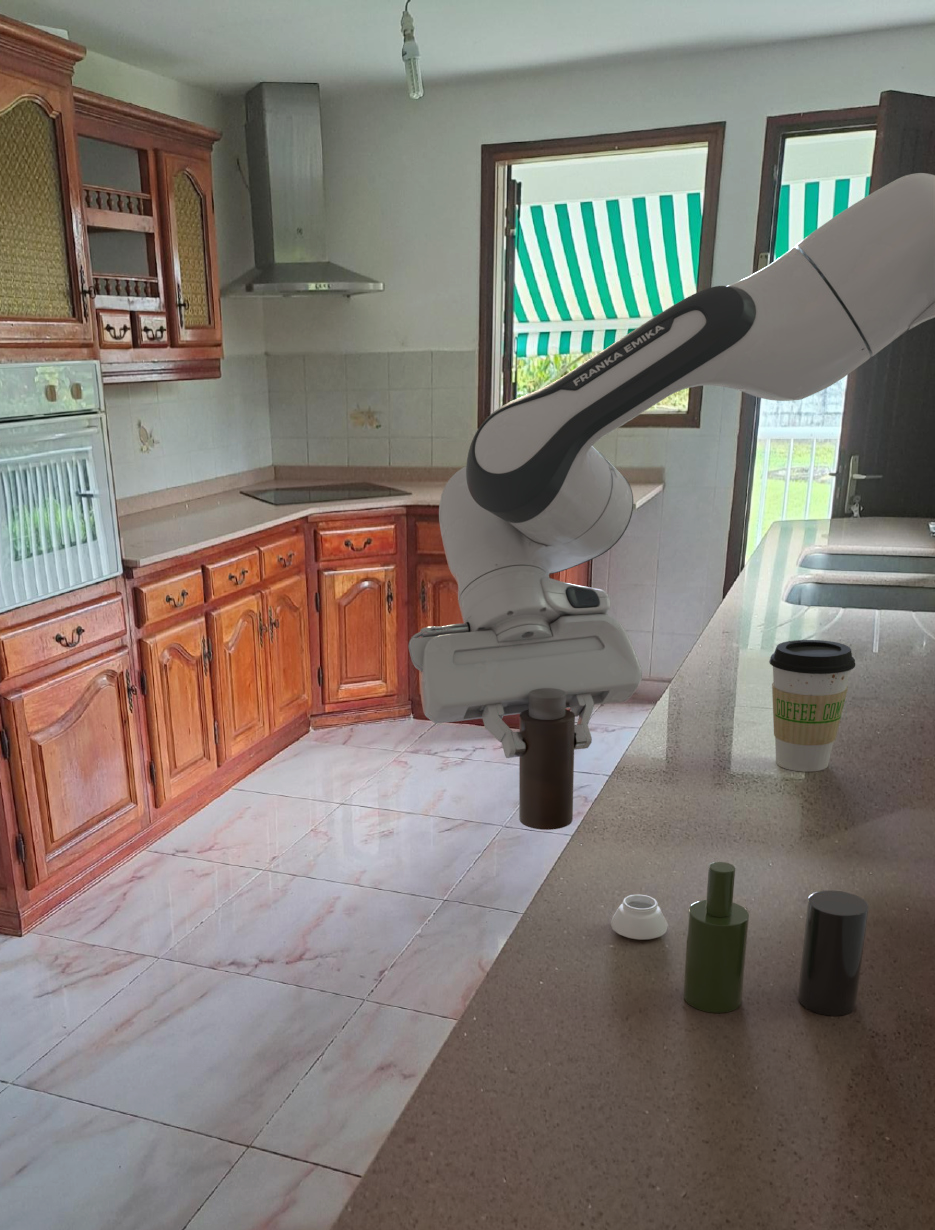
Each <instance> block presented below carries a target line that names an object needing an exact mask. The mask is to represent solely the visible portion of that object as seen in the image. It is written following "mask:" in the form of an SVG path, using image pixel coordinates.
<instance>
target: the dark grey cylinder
mask: <svg viewBox="0 0 935 1230" xmlns="http://www.w3.org/2000/svg"><path fill="white" fill-rule="evenodd" d="M869 909H870V908H869V904H868V902H867V901H866V900H865V899H863V898H862V897H860V896H858V895H856V894H853V893H850V892H846V891H841V890H820V891H816V892H813V893H812V894H810V895H809V896H808V898H807V905H806V913H805V914H806V915H805V924H804V933H803V942H802V952H801V960H800V961H801V962H800V970H799V971H800V972H799V981H798V988H797V989H798V990H797V1000H798V1003H799V1004H800V1005H802V1007H804V1008H805V1009H806V1010H808V1011H810V1012H813V1013H816V1014H818V1015H824V1016H829V1017H831V1016H832V1017H837V1016H838V1017H840V1016H845V1015H849V1014H852V1013H853V1012H854V1011H855V1009H856V1007H857V1003H858V993H859V985H860V978H861V969H862V963H863V962H862V961H863V955H864V947H865V939H866V933H867V932H866V931H867V923H868V915H869Z"/></svg>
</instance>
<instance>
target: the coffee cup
mask: <svg viewBox="0 0 935 1230" xmlns="http://www.w3.org/2000/svg"><path fill="white" fill-rule="evenodd" d="M852 653H853V652H852V648H851V647H850V646H848V645H846V644H844V643H841V642H836V641H831V640H822V639H796V640H795V639H794V640H788V641H783V642H780V643H778V644H777V645H776V647H775V649H774V653H772V654H771V655H770V658H769V662H768V663H769V665H770V666H771V667H772V678H773V679H772V683H771V694H772V695H771V697H772V718H773V721H772V722H773V736H774V746H775V747H774V748H775V763H776V765H777V766H779V767H781V768H783V769H786V770H789V771H795V772H805V773H806V772H807V773H810V772H818V771H819V772H820V771H823V770H826V769H827V768H829V767H828V766H829V764H830V763H829V762H830V759H831V755H832V751H833V746H834V742H835V741H836V738H837V735H838V730H839V726H840V724H841V718H842V714H843V710H844V706H845V702H846V698H847V694H848V693H847V692H848V690H849V687H848V682H849V678H850V674H851V670H853V669H854V668H855V667H856V660H855V657H854V656H853V654H852Z"/></svg>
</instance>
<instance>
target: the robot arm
mask: <svg viewBox="0 0 935 1230" xmlns="http://www.w3.org/2000/svg"><path fill="white" fill-rule="evenodd" d="M934 318H935V174H931V173H927V172H918V173H917V172H916V173H910V174H906V175H904V176H901V177H899V178H897V179H895V180H893V181H891V182H889V183H888V184H886V185H884V186H882V187H880V188H879V189H877V190H875V191H873V192H872V193H870V194H869V195H866V196H865V197H863V198H862V199H860V200H858V201H857V202H855V203H853V204H851V205H850V206H849V207H847V208H846V209H844V210H842V211H840V213H838V214H837V215H834V216H833V217H832V218H830V219H829V220H828V221H826V222H825V223H823V224H822V225H821V226H819V227H818V228H816V229H814V231H812V232H811V233H810V234H809V235H807V236H806V237H805V238H803V239H802V240H801V241H799V242H798V243H797V244H795V246H794V247H791V249H790V250H788V251H786V252H785V253H783V254H782V255H781V256H780V257H778V258H777V259H776V260H775V261H773V262H771V263H770V264H768V265H766V266H765V267H763V268H761V269H760V270H758V271H756V272H754V273H752V274H751V275H749V276H747V277H745V278H743V279H741V280H738V281H736V282H734V283H731V284H728V285H717V286H711V287H708V288H704V289H702V290H700V291H698V292H695V293H693V294H691V295H689V296H687V297H685V298H683V299H681V300H680V301H678V302H676V303H674V304H673V305H672V306H670V307H668V308H666V309H665V310H663V311H662V312H660V313H659V314H657V315H655V316H654V317H652V318H651V319H649V320H647V321H646V322H644V323H643V324H641V325H640V326H638V327H637V328H635V329H634V330H632V331H631V332H629V333H627V334H626V335H625V336H623V337H621V338H620V339H617V340H616V341H615V342H614V343H612V344H611V345H609V346H608V347H606V348H604V349H603V350H602V351H600V352H598V353H597V354H595V355H594V356H592V357H591V358H589V359H588V360H586V361H584V362H583V363H581V364H580V365H578V366H576V367H575V368H574V369H572V370H571V371H569V372H568V373H566V374H565V375H563V376H562V377H559V378H558V379H556V380H555V381H553V382H551V383H549V384H548V385H545V386H543V387H542V388H541V387H540V388H539V389H537V390H534V391H532V392H530V393H526V394H524V395H521V396H519V397H517V398H515V399H513V400H511V401H508V402H507V403H505V404H503V405H501V406H499V407H498V408H497V409H495V410H494V411H493V412H492V413H491V414H490V415H489V416H487V417H486V418H485V419H484V421H483V422H482V423H481V425H479V427H478V429H477V430H476V432H475V434H474V436H473V438H472V441H471V442H470V446H469V448H468V453H467V458H466V465H465V466H463V467H462V468H460V469H459V470H457V471H456V472H455V473H454V474H453V475H452V476H451V477H450V478H449V479H448V481H447V482H446V484H445V485H444V487H443V489H442V492H441V495H440V499H439V507H438V520H439V522H438V523H439V529H440V535H441V540H442V545H443V550H444V555H445V559H446V561H447V563H446V564H447V566H448V570H449V571H450V574H451V575H452V577H453V578H454V580H455V582H456V584H457V588H458V589H457V603H458V607H459V612H460V614H461V618H462V623H453V624H448V625H443V626H426V627H422V628H421V629H420V631H419V632H417V633H415V634H413V635H412V636H411V637H410V639H409V640H408V641H409V642H408V651H409V652H408V653H409V656H410V660H411V663H412V665H413V666H414V668H415V669H416V670H418V671H419V673H418V676H419V679H418V680H419V690H420V692H419V693H420V700H421V705H422V706H421V707H422V712H423V715H424V716H425V717H426V718H427V719H429V721H431V722H432V723H434V724H445V723H454V722H462V721H463V722H464V721H472V720H479V719H482V722H483V725H484V728H485V729H486V731H488V733H490V734H491V735H492V736H493V737H494V739H496V740H497V741H498V742H499V743H501V746H502V749H503V753H504V757H505V758H506V759H512V758H519V757H520V756H523V753H525V751H526V745H525V742H524V741H523V735H522V732H520V731H513V730H512V729H511V728H510V726H509V725H508V724H507V723H506V722H505V721H504V720H503V718H504V717H505V716H514V715H515V716H516V715H520V713H521V712H523V711H525V710H528V709H529V692H530V691H532V690H535V689H541V688H554V689H560V690H563V691H565V692H566V709H569V710H570V711H572V712H573V713H574V714H575V718H576V717H578V719H577V723H576V724H575V735H574V751H575V750H585V749H589V747H590V746H591V744H592V741H593V739H592V738H593V737H592V734H591V730H590V728H589V723H590V721H591V720H590V719H591V716H592V713H593V710H594V707H595V706H599V705H608V704H616V703H624V702H627V701H629V700H630V699H631V697H632V696H633V695H634V693H635V692H636V691H637V690H638V688H639V686H640V683H641V682H642V679H643V671H642V667H641V664H640V660H639V659H638V656H637V653H636V651H635V648H634V646H633V643H632V642H631V641H632V640H631V639H630V637H629V635H628V633H627V631H626V629H625V628H624V626H623V625H622V624H621V622H620V620H618V619H617V618H615V617H614V616H611V615H610V614H609V611H610V608H611V606H612V605H611V599H610V596H609V594H608V593H607V592H606V590H603V589H600V588H595V587H590V586H589V587H588V586H583V585H578V584H572V583H569V582H564V581H560V580H558V579H556V578H555V579H554V578H550V575H553V574H558V573H560V572H564V571H567V570H570V569H572V568H574V567H577V566H580V565H582V564H584V563H587V562H590V561H592V560H594V559H596V558H598V557H600V556H602V555H604V554H605V553H607V552H608V551H610V550H611V549H612V548H613V547H614V546H615V545H616V544H618V542H619V541H620V540H621V539H622V537H623V536H624V534H625V532H626V530H627V528H628V527H629V525H630V522H631V519H632V515H633V511H634V493H633V490H632V487H631V484H630V483H629V481H628V480H627V478H626V477H625V476H623V474H622V473H621V472H620V471H619V470H618V469H617V468H616V467H615V466H614V465H613V464H612V463H611V462H610V461H609V459H607V457H605V455H603V454H602V453H601V452H600V451H598V450H597V449H596V448H595V447H594V445H595V444H596V443H597V442H599V441H600V440H601V439H603V438H604V437H606V436H608V435H609V434H611V433H613V432H614V431H616V430H617V429H619V428H621V427H622V426H624V425H625V424H627V423H628V422H630V421H632V420H633V419H634V418H636V417H638V416H640V415H641V414H643V413H644V412H645V411H647V410H649V409H650V408H652V407H653V406H655V405H657V404H659V403H661V401H663V400H665V399H667V398H668V397H670V396H672V395H674V394H675V393H679V392H681V391H683V390H686V389H690V388H694V387H702V386H703V387H704V386H713V387H723V388H728V389H732V390H737V391H740V392H742V393H745V394H748V395H750V396H753V397H756V398H759V399H763V400H768V401H776V402H793V401H800V400H803V399H807V398H808V397H811V396H812V395H813V396H814V395H815V394H817V393H819V392H821V391H823V390H825V389H827V388H829V387H831V386H833V385H835V384H836V383H838V382H839V381H840V380H842V379H844V378H845V377H846V376H848V375H849V374H850V373H852V372H853V371H855V370H856V369H857V368H859V367H860V366H862V365H863V364H864V363H866V362H867V361H868V360H869V359H871V358H872V357H874V356H875V355H877V354H878V353H879V352H881V351H882V350H883V349H884V348H886V347H887V346H888V345H890V344H891V343H892V342H894V341H895V340H896V339H898V338H899V337H900V336H902V335H903V334H904V333H906V332H908V331H910V330H912V329H913V328H915V327H917V326H919V325H920V324H922V323H924V322H926V321H929V320H931V319H934Z"/></svg>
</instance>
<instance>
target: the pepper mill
mask: <svg viewBox="0 0 935 1230" xmlns="http://www.w3.org/2000/svg"><path fill="white" fill-rule="evenodd" d="M575 725H576V717H575V714H574V713H573V712H572V711H571V709H568V708H566V692H565V691H563V690H560V689H554V688H541V689H535V690H532V691H530V692H529V709H528V710H525V711H523V712H521V713H520V714H519V732H522V735H523V741H524V742H525V745H526V751H525V753H523V756H520V757H518V761H519V763H518V764H519V765H518V766H519V770H518V771H519V773H518V774H519V775H518V778H519V780H518V784H519V785H518V790H519V791H518V800H519V801H518V820H519V822H520V824H522V825H523V826H525V827H528V828H530V829H535V830H541V831H542V830H544V831H549V830H550V831H551V830H558V829H559V830H560V829H563V828H566V827H568V826H570V825H571V824H572V822H573V820H574V779H575V778H574V777H575V775H574V774H575V773H574V772H575V750H574V735H575Z"/></svg>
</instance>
